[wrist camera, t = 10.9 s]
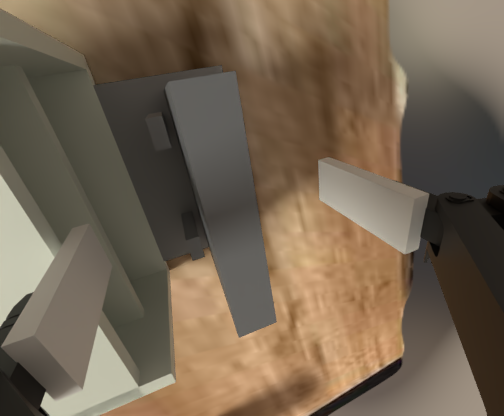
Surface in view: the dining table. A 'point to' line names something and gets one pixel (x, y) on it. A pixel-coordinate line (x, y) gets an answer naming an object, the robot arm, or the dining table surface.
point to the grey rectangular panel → (224, 191)
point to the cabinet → (95, 203)
